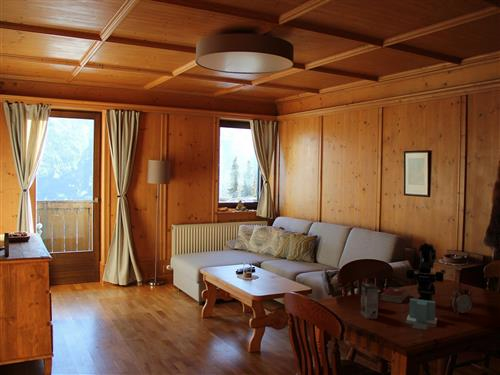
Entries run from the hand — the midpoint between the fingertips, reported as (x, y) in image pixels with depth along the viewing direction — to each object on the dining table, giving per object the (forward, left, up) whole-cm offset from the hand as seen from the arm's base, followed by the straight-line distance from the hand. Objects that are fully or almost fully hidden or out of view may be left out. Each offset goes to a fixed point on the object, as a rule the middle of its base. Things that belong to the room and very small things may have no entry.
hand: (423, 288), depth 245 cm
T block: (+8, +8, -13) cm, 17 cm away
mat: (+11, +11, -14) cm, 20 cm away
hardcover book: (-7, -32, -14) cm, 36 cm away
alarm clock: (-21, +5, -14) cm, 26 cm away
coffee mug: (+19, -19, -14) cm, 30 cm away
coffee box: (+29, -7, -14) cm, 33 cm away
